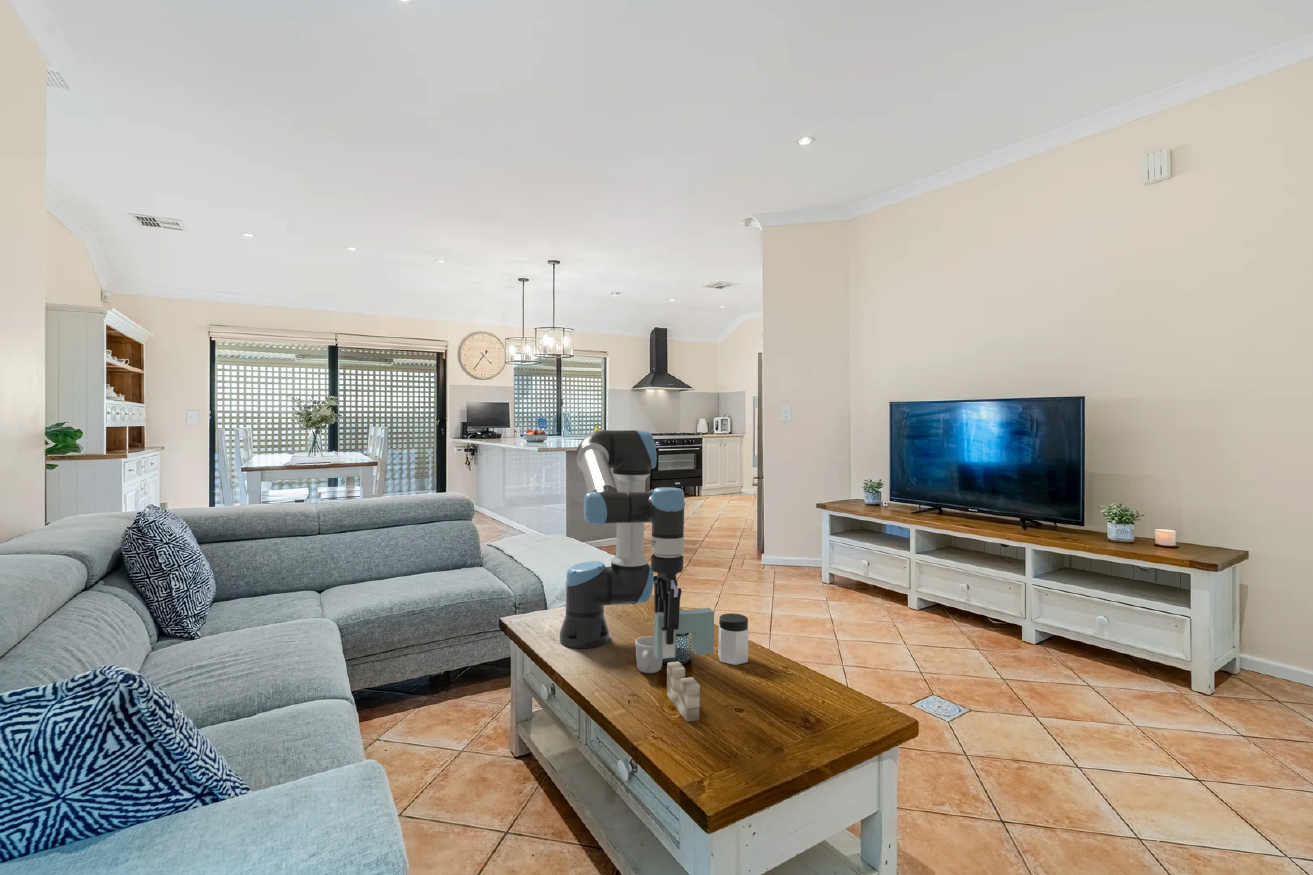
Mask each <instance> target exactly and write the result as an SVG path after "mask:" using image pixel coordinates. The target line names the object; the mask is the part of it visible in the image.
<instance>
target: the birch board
mask: <svg viewBox="0 0 1313 875" xmlns="http://www.w3.org/2000/svg"><path fill="white" fill-rule="evenodd" d="M666 667H667V668H666V695H667V697H668V699H670V701H671V702H672V704H673V705H674V706H675V708H676V709H677V711H678V712H679V713H680V715H681V716H682V718H683V719H684V720H685V722H689V723H690V722H694V721H695V722H696V721H700V700H701V699H700V697H701V696H700V695H701V693H700V692H701V691H700V688H701V685H700V684H699V682H698V681H697V680H696V679H695V677H693V676H691V677H690V676H689V677H686V668H685V667H684V665H682V663H681V662H680V661H671V662H667V665H666Z"/></svg>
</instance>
